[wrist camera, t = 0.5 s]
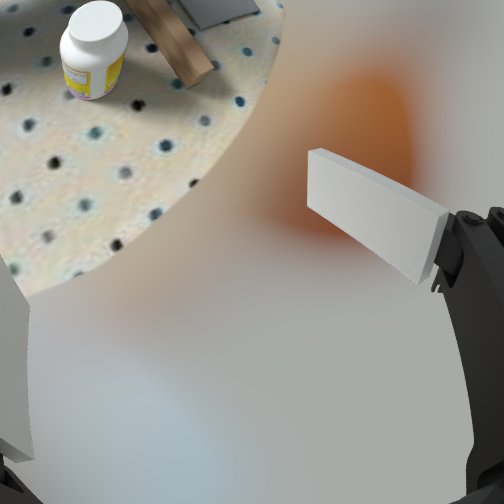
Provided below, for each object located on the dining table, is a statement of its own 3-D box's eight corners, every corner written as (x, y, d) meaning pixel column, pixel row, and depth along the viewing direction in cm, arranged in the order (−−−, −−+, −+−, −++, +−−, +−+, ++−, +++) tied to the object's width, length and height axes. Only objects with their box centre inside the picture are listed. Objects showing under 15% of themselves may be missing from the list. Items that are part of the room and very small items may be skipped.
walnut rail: (114, -13, 26) (120, -35, 21) (127, -18, 26) (134, -40, 22) (186, 89, 34) (200, 74, 29) (199, 82, 34) (214, 67, 30)
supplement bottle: (116, 48, 28) (132, -13, 17) (122, 94, 30) (139, 43, 19) (63, 60, 26) (58, 0, 14) (67, 107, 27) (57, 60, 16)
